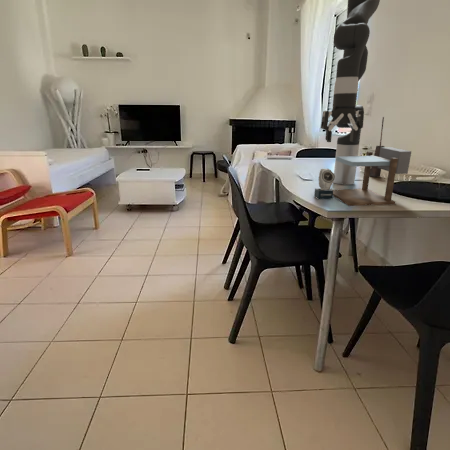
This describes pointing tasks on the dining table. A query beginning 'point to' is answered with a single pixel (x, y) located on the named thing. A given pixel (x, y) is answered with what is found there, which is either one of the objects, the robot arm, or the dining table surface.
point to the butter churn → (374, 169)
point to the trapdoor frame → (366, 195)
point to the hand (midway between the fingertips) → (340, 141)
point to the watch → (325, 184)
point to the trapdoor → (380, 159)
